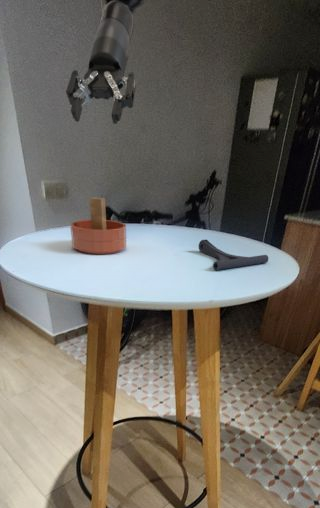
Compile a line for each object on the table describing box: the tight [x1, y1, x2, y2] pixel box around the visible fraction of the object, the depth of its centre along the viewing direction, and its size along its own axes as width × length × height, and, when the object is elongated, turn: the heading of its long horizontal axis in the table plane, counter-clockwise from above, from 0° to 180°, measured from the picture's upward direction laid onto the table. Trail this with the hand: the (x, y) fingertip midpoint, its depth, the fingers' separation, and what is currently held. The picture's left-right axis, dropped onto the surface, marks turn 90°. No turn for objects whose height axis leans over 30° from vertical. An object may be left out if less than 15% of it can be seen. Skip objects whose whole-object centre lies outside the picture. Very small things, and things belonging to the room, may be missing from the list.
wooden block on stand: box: [89, 196, 107, 230], centre depth 81 cm, size 5×5×10 cm
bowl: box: [69, 219, 127, 255], centre depth 83 cm, size 12×12×5 cm
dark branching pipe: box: [198, 239, 269, 271], centre depth 81 cm, size 14×15×3 cm
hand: (94, 119), depth 77 cm, fingers open, 8 cm apart
